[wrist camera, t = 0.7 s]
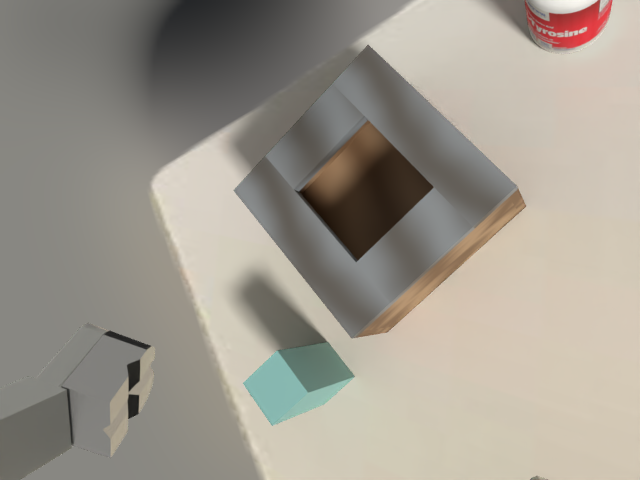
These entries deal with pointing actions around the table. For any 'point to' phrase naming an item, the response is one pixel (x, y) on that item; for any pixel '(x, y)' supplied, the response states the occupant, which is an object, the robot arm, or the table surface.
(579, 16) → the pill bottle
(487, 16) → the table surface
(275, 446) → the table surface
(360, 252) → the drop box
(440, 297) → the table surface
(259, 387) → the block
